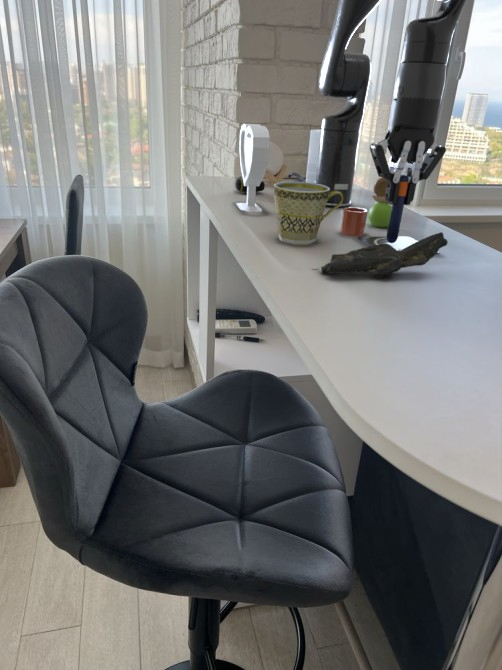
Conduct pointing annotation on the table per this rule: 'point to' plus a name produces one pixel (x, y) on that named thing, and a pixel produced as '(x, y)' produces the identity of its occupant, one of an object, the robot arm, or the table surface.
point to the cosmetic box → (313, 156)
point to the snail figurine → (380, 205)
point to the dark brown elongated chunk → (386, 257)
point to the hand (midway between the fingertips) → (398, 203)
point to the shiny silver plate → (398, 245)
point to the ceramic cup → (301, 210)
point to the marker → (397, 211)
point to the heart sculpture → (253, 161)
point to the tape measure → (243, 189)
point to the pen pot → (354, 221)
